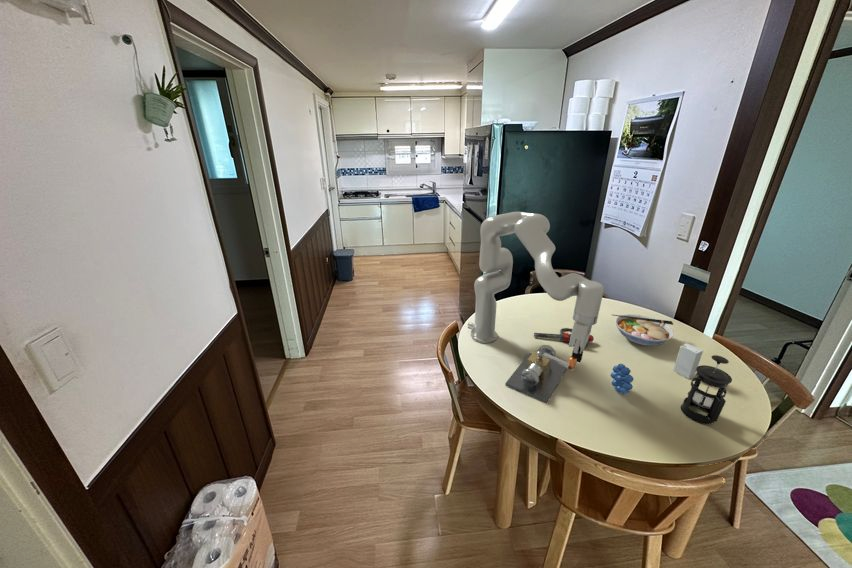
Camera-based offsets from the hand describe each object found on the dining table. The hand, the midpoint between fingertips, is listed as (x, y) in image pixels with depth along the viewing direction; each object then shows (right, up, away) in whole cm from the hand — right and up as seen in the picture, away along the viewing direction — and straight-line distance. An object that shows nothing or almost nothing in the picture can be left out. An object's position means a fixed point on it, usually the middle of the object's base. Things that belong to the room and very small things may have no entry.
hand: (576, 360), depth 121 cm
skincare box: (+48, -8, +12) cm, 50 cm away
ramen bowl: (+45, +2, +33) cm, 56 cm away
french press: (+38, -17, -8) cm, 42 cm away
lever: (-7, -2, +3) cm, 7 cm away
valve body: (-11, -9, +11) cm, 18 cm away
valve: (+10, +2, +37) cm, 38 cm away
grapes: (+18, -13, +3) cm, 22 cm away
